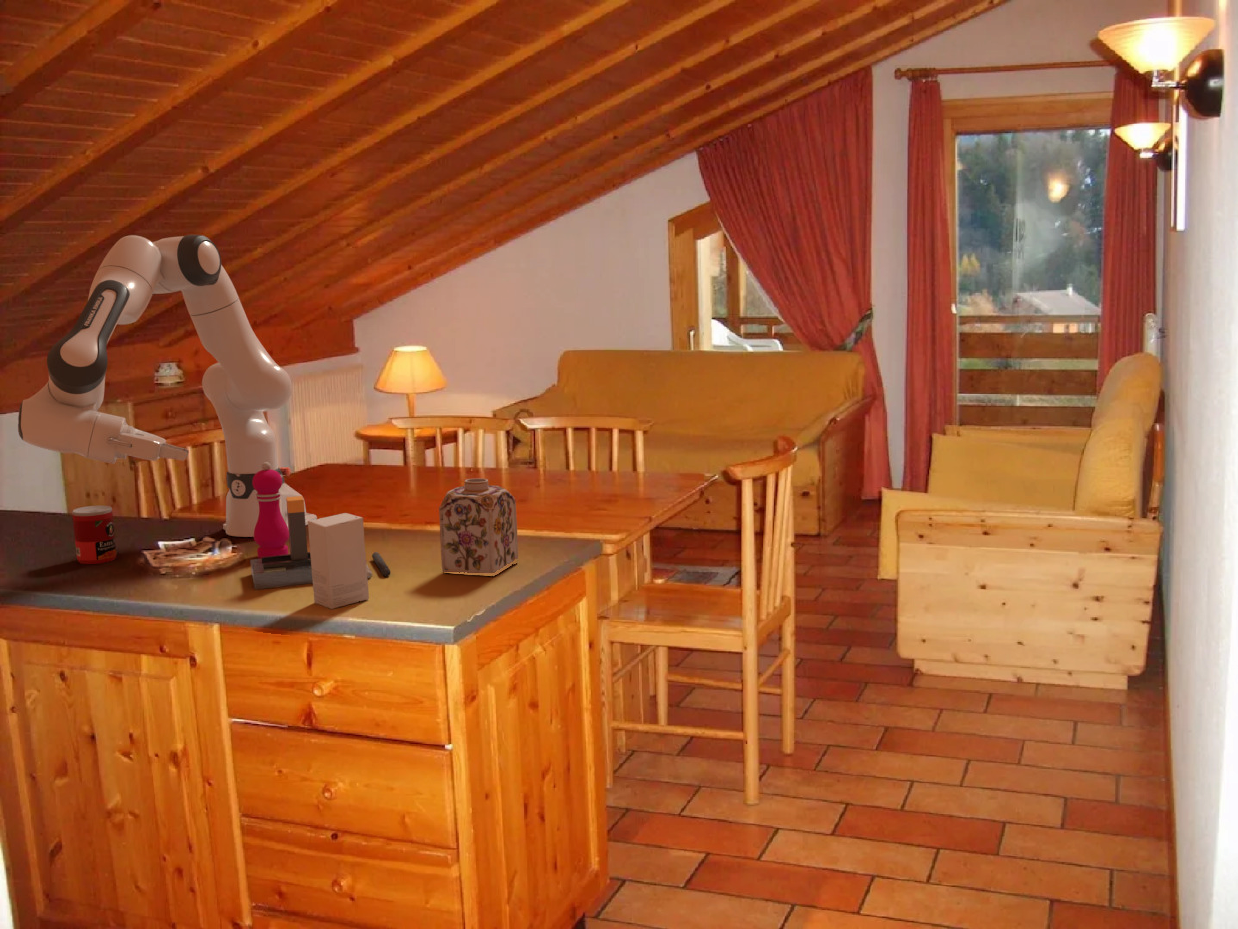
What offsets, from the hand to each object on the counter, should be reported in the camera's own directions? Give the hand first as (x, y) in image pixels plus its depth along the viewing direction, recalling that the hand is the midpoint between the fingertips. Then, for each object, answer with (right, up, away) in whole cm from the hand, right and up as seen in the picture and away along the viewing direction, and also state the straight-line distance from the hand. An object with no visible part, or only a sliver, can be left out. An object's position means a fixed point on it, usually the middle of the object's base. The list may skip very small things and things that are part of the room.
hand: (187, 455), depth 239 cm
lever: (+19, -21, +9) cm, 29 cm away
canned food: (-28, -22, +28) cm, 45 cm away
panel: (+19, -24, +9) cm, 32 cm away
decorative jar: (+54, -23, +12) cm, 60 cm away
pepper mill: (+9, -21, +27) cm, 35 cm away
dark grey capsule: (+32, -23, +14) cm, 42 cm away
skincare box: (+31, -27, -9) cm, 42 cm away
